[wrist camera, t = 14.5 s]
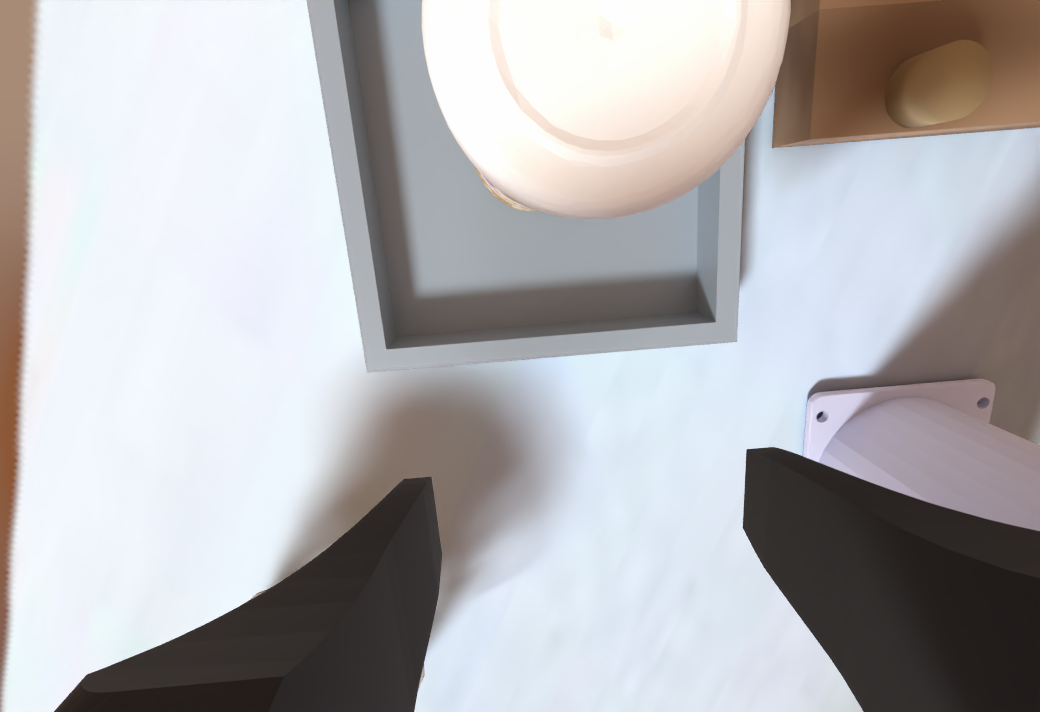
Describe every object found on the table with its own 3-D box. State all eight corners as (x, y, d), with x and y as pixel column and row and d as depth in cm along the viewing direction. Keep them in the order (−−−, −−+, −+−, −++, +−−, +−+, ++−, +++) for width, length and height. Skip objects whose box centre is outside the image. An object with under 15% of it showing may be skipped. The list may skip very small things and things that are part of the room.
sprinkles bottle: (446, 142, 19) (328, -10, 6) (541, 49, 18) (649, -354, 5) (529, 239, 20) (586, 293, 7) (622, 155, 19) (880, 40, 6)
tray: (710, 327, 22) (737, 341, 19) (382, 354, 21) (367, 372, 19) (720, -59, 18) (754, -101, 15) (323, -31, 18) (295, -69, 15)
